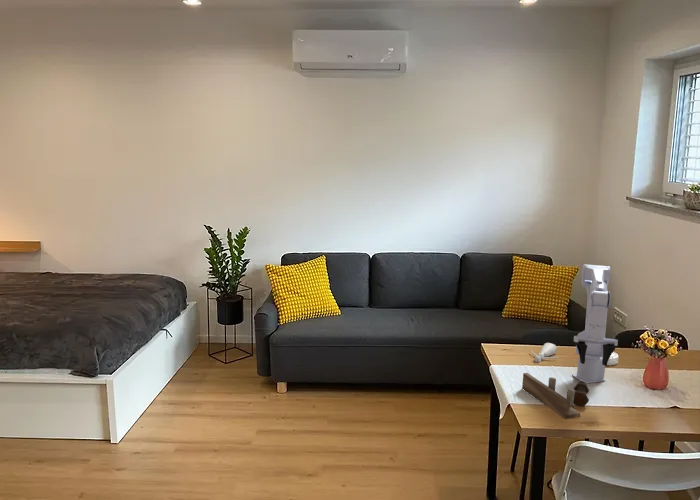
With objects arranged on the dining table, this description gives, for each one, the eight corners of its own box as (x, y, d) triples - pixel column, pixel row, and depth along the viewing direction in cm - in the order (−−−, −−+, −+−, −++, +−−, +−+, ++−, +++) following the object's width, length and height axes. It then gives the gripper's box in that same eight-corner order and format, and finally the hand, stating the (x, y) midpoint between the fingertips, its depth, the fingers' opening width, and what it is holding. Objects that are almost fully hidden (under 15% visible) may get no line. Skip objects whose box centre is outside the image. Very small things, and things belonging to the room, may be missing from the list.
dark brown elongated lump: (583, 395, 218) (580, 410, 205) (571, 386, 220) (568, 401, 206) (593, 383, 216) (591, 398, 203) (581, 374, 218) (578, 388, 204)
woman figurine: (566, 344, 253) (550, 359, 239) (565, 354, 254) (549, 369, 240) (539, 338, 260) (522, 351, 246) (538, 347, 261) (522, 361, 247)
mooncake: (584, 361, 246) (585, 353, 246) (588, 353, 257) (589, 345, 256) (616, 368, 241) (617, 359, 240) (619, 358, 251) (620, 350, 250)
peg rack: (541, 386, 220) (543, 370, 219) (585, 415, 198) (587, 398, 196) (521, 388, 217) (523, 373, 216) (564, 418, 195) (566, 401, 194)
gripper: (580, 325, 204) (576, 364, 204) (623, 329, 204) (619, 368, 204) (573, 322, 211) (569, 360, 211) (614, 325, 211) (610, 364, 211)
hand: (593, 364), depth 208 cm, fingers open, 7 cm apart
